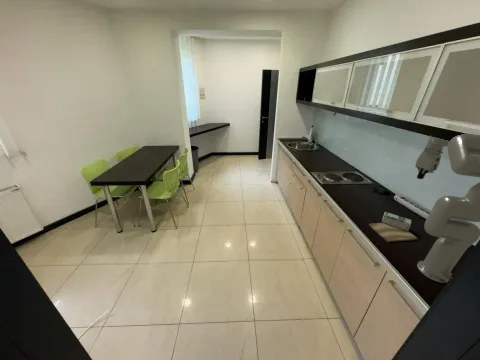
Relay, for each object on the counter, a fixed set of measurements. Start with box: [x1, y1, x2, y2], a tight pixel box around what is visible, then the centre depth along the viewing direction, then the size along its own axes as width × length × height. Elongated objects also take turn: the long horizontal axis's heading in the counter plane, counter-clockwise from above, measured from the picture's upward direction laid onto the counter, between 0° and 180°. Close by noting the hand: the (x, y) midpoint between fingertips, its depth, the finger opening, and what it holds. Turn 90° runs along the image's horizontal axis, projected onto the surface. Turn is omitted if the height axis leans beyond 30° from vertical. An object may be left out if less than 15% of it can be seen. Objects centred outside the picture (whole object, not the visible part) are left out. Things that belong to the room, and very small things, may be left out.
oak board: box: [368, 222, 418, 243], centre depth 127 cm, size 16×20×1 cm
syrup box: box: [381, 211, 412, 231], centre depth 131 cm, size 6×6×14 cm
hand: (419, 178), depth 126 cm, fingers closed
